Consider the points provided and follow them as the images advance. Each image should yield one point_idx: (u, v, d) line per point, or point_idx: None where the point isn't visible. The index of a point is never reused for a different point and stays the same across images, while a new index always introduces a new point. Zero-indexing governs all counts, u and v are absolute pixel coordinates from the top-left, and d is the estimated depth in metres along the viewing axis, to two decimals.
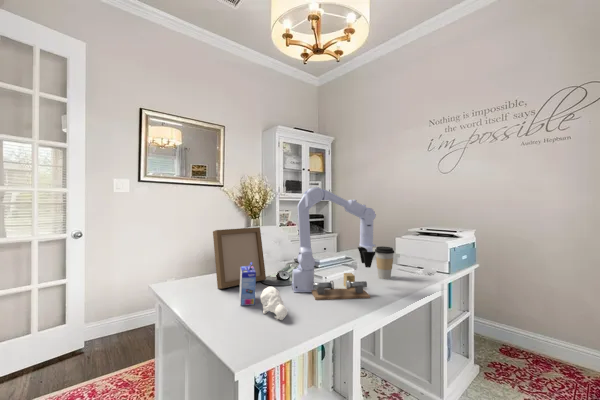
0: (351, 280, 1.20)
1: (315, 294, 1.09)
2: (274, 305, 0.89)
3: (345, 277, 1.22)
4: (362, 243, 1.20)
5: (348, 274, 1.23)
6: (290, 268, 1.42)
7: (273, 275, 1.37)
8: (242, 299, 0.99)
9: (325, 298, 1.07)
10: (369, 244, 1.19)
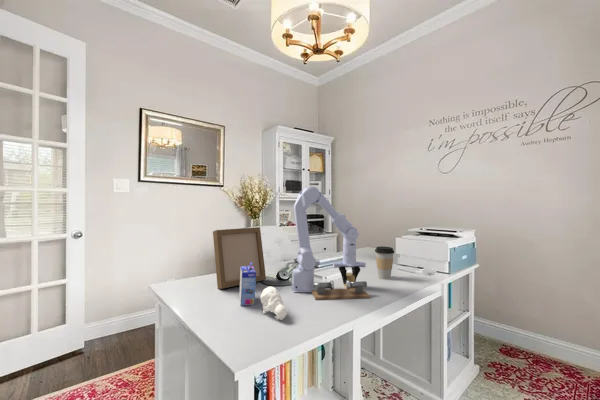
0: (351, 280, 1.20)
1: (315, 294, 1.09)
2: (274, 305, 0.89)
3: None
4: None
5: (348, 274, 1.23)
6: (288, 268, 1.41)
7: (271, 275, 1.36)
8: (242, 299, 0.99)
9: (325, 298, 1.07)
10: (343, 262, 1.22)
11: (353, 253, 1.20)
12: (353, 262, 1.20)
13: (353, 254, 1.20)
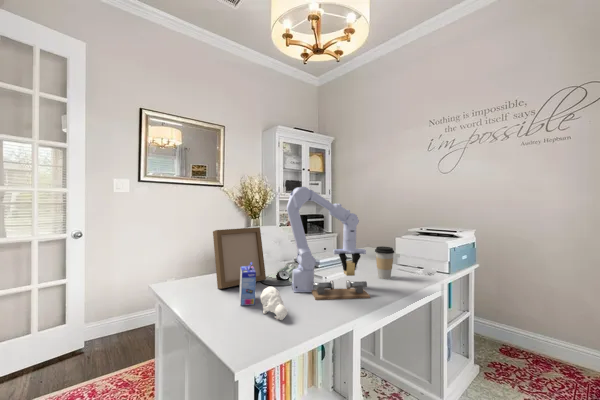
0: (351, 267, 1.20)
1: (315, 294, 1.09)
2: (274, 305, 0.89)
3: None
4: None
5: (348, 261, 1.23)
6: (288, 268, 1.41)
7: (271, 276, 1.36)
8: (242, 299, 0.99)
9: (325, 298, 1.07)
10: (344, 249, 1.22)
11: (353, 239, 1.20)
12: (353, 248, 1.20)
13: (353, 240, 1.20)
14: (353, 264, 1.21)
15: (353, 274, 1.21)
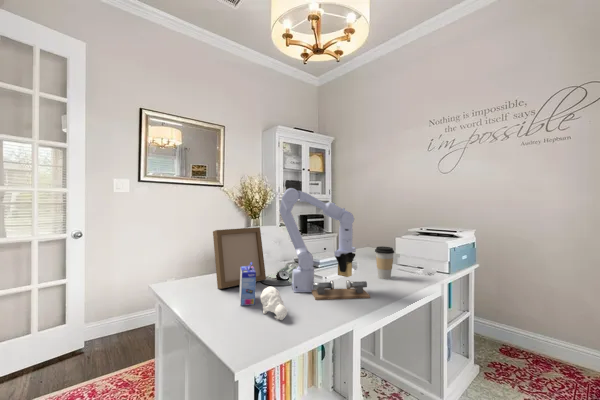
0: (350, 267, 1.17)
1: (315, 294, 1.09)
2: (274, 305, 0.89)
3: None
4: (339, 247, 1.18)
5: None
6: (288, 269, 1.41)
7: (271, 276, 1.36)
8: (242, 299, 0.99)
9: (325, 298, 1.07)
10: (343, 249, 1.15)
11: (348, 239, 1.15)
12: (352, 248, 1.17)
13: None
14: (351, 264, 1.17)
15: (351, 274, 1.17)
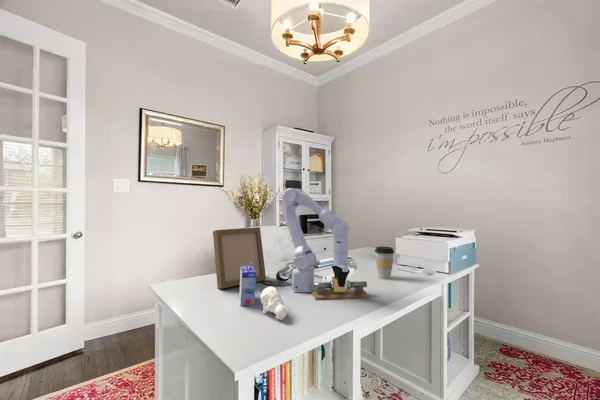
0: None
1: (315, 294, 1.09)
2: (274, 305, 0.89)
3: None
4: (336, 261, 1.10)
5: None
6: (288, 269, 1.40)
7: (271, 276, 1.36)
8: (242, 299, 0.99)
9: (325, 298, 1.07)
10: (344, 262, 1.09)
11: (340, 252, 1.09)
12: None
13: None
14: None
15: None
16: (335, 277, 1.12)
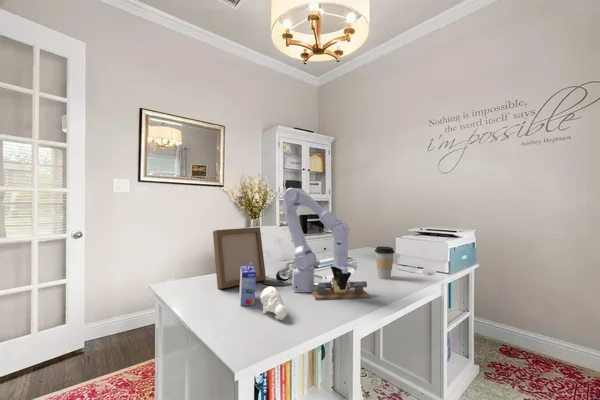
0: None
1: (315, 294, 1.09)
2: (274, 305, 0.89)
3: None
4: (336, 263, 1.10)
5: None
6: (289, 269, 1.39)
7: (271, 276, 1.35)
8: (242, 299, 0.99)
9: (325, 298, 1.07)
10: (344, 264, 1.09)
11: (340, 253, 1.09)
12: None
13: None
14: None
15: None
16: (335, 279, 1.12)
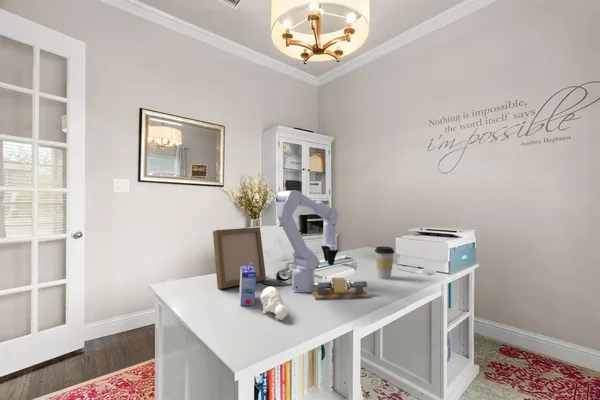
0: None
1: (315, 294, 1.09)
2: (274, 305, 0.89)
3: (340, 283, 1.10)
4: (325, 242, 1.25)
5: (338, 279, 1.12)
6: (289, 269, 1.39)
7: (271, 276, 1.35)
8: (242, 299, 0.99)
9: (325, 298, 1.07)
10: (332, 243, 1.25)
11: (334, 233, 1.25)
12: None
13: None
14: None
15: None
16: (335, 279, 1.12)
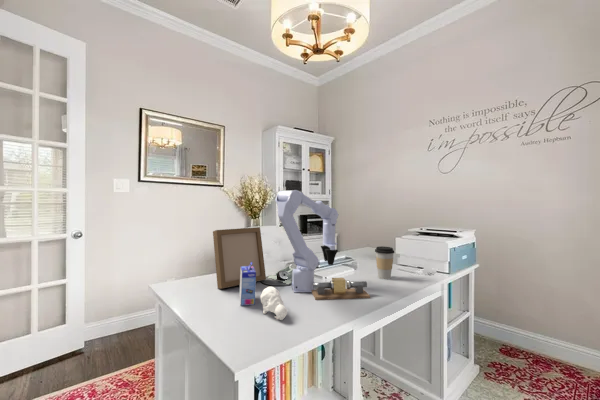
0: None
1: (315, 294, 1.09)
2: (274, 305, 0.89)
3: (340, 283, 1.10)
4: (325, 242, 1.26)
5: (338, 279, 1.12)
6: (289, 270, 1.38)
7: (270, 276, 1.35)
8: (242, 299, 0.99)
9: (325, 298, 1.07)
10: (331, 242, 1.25)
11: (334, 233, 1.26)
12: None
13: None
14: None
15: None
16: (335, 279, 1.12)
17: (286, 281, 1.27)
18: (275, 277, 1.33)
